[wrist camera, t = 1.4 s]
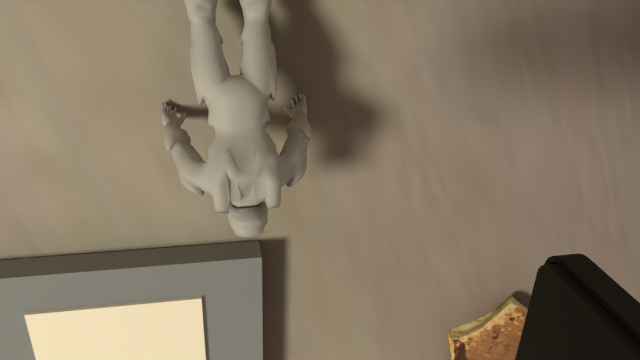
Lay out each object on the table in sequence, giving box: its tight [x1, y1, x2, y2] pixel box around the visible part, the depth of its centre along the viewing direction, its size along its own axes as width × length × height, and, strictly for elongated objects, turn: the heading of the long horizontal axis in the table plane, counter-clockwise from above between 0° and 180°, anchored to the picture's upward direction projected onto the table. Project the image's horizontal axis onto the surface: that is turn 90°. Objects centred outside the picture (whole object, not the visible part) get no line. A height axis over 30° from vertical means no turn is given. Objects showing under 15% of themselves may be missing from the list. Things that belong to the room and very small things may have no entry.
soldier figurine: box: [161, 0, 312, 237], centre depth 22 cm, size 6×5×12 cm
